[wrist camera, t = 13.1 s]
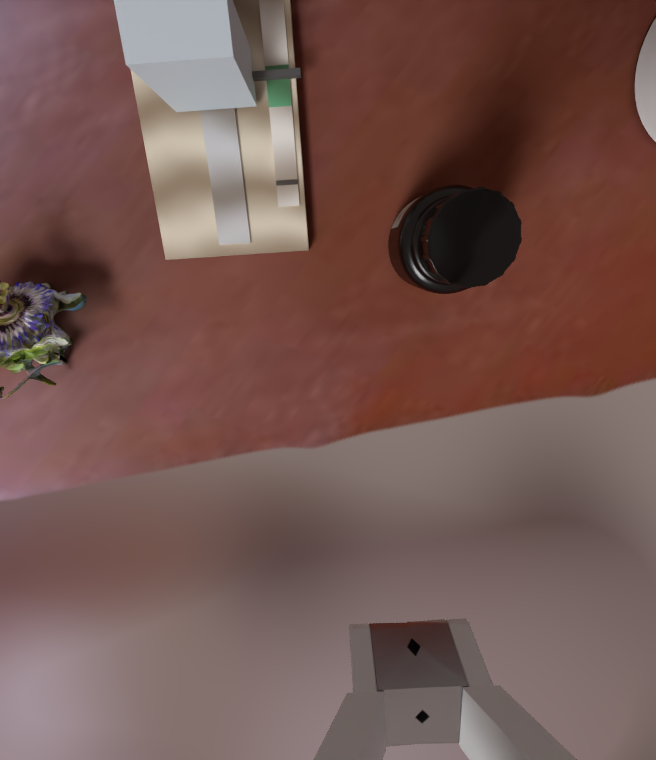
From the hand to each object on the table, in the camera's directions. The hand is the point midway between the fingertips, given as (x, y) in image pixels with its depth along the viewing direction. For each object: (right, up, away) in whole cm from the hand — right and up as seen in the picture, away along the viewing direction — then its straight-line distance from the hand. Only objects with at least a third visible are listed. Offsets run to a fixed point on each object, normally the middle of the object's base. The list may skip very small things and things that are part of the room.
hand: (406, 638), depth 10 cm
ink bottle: (+8, +20, +29) cm, 37 cm away
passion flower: (-31, +12, +32) cm, 47 cm away
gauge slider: (-10, +33, +23) cm, 41 cm away
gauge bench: (-12, +31, +26) cm, 42 cm away
